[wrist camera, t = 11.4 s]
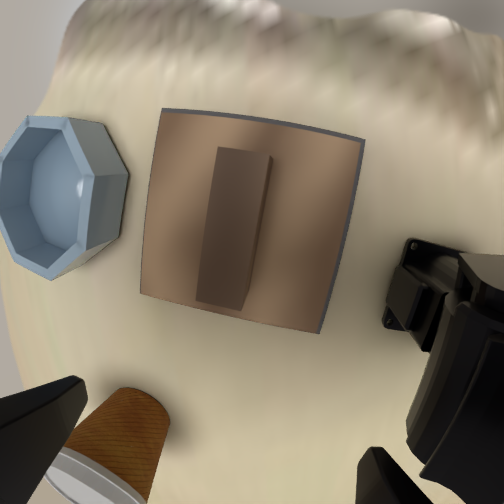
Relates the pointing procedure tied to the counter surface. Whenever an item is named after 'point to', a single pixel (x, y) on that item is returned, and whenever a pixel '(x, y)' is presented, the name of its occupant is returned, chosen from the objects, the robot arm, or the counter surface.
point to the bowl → (59, 193)
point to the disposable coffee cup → (112, 452)
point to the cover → (246, 217)
